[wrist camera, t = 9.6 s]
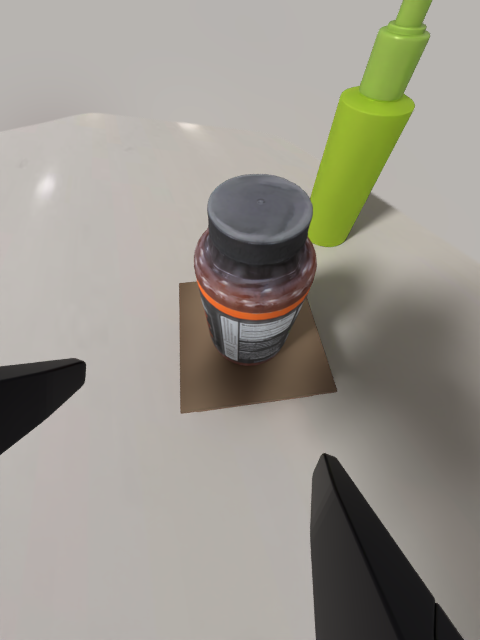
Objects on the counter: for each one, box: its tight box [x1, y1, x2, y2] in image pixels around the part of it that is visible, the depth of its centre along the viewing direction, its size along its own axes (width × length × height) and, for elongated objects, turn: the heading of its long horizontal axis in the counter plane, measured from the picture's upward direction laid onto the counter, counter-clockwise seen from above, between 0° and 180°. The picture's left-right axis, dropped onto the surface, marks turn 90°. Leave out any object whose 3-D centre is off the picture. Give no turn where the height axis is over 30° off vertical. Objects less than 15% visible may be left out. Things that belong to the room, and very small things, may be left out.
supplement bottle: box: [194, 174, 317, 366], centre depth 14 cm, size 6×6×11 cm
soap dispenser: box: [308, 0, 432, 247], centre depth 22 cm, size 6×7×20 cm
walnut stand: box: [179, 282, 337, 414], centre depth 20 cm, size 11×11×4 cm
